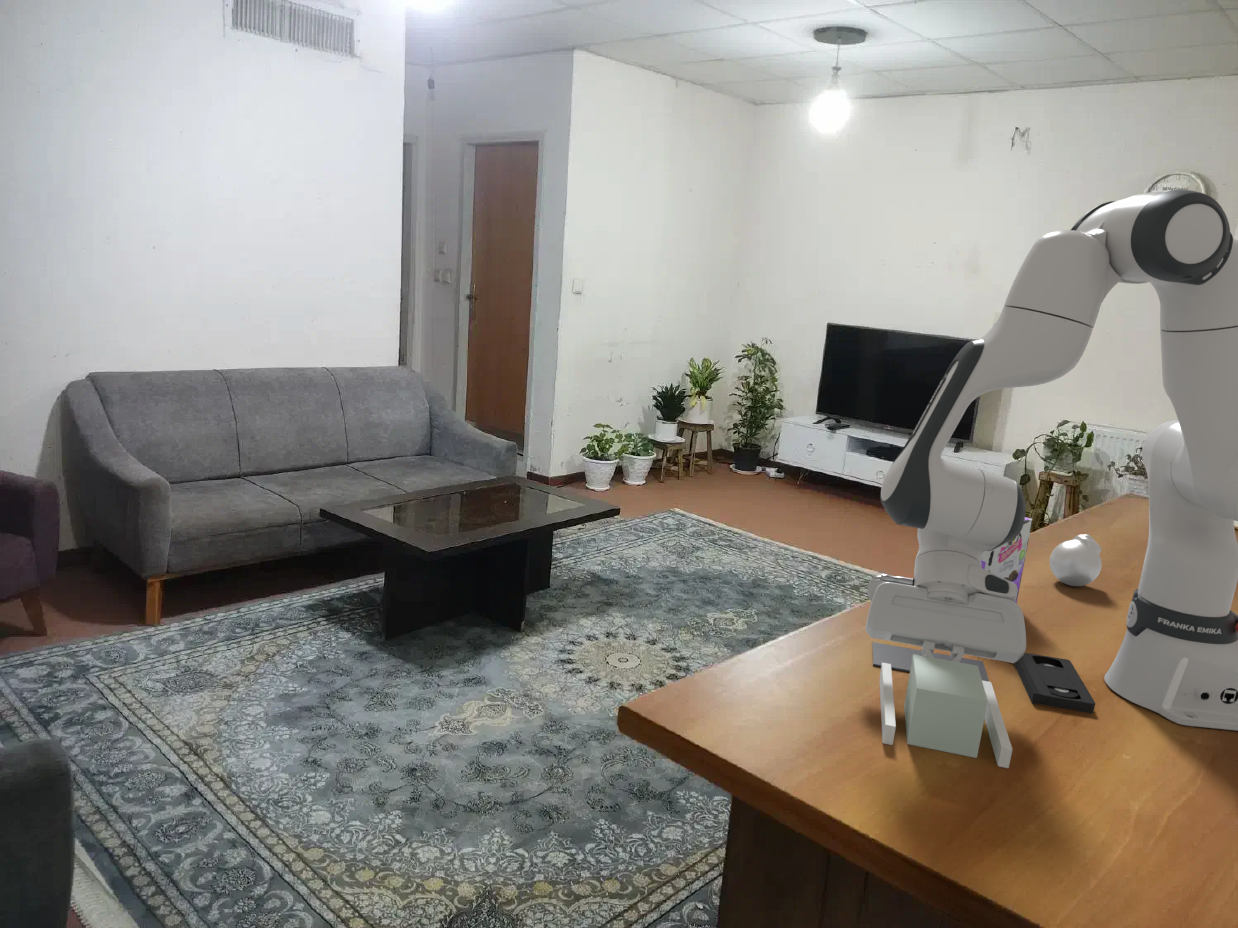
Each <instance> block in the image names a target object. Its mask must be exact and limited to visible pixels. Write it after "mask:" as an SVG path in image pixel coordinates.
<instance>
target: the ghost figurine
mask: <svg viewBox="0 0 1238 928" xmlns="http://www.w3.org/2000/svg"><path fill="white" fill-rule="evenodd" d="M1101 551H1102V547H1101V546H1100V545H1099V544H1098V543H1097V541H1096V540H1095V539H1094V537H1092V536H1091V535H1090V534H1088V533H1087V534H1086V533H1085V534H1083V533H1082V534H1078V535H1076V536H1075V537H1073V538H1072V539H1070V540H1065V541H1063V542H1061V543H1059V544H1058V545H1057V546H1056V547H1054V549H1053V550H1052V551H1051V554H1050V557H1049V567H1050V570H1051V572H1052V574H1053V576H1054V577H1055V578H1056V579H1058V581H1060V582H1061V583H1063V584H1065V585H1068V586H1070V587H1082V586H1083V587H1084V586H1087V585H1089V584H1091V583H1093V582H1094V581H1095V580H1096V579H1097V578H1098V576H1099V575H1100V573H1101V570H1102V566H1103V565H1102V564H1103V563H1102V558H1101V556H1100V553H1101Z"/></svg>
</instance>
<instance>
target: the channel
mask: <svg viewBox="0 0 1238 928" xmlns="http://www.w3.org/2000/svg"><path fill="white" fill-rule="evenodd" d="M871 645H872V666H873V667H879V668H880V672H879V673H880V674H879V697H880V699H879V700H880V718H881V720H880V721H881V723H880V724H881V739H882V741H881V742H882V744H884V745H890V746H893V745H894V739H895V733H896V729H897V724H896V712H895V711H896V710H895V699H894V698H895V697H894V686H893V675H892V674H893V673H892V672H893V671H892V670H895V671H901V672H905V671H906V672H907V673H910V669H911V663H912V657H913V654H916V655H921V656H922V654H921V650H920V649H916V648H910V647H904V646H897V645H894V644H893V645H891V644H887V643H880V642H874V641H872V643H871ZM932 655H933V657H934V658H938V659H944V660H949V661H953V660H954V659H951V658H950V654H949V655H948V654H944V653H939V652H933V653H932ZM960 663H966V664H971V665H977V666H978V668H979V672H980V675H981V679H982V682H983V686H984V690H985V693H986V697H987V700H988V703H987V708H986V713H985V718H984V722H985V725H986V729H987V732H988V733H987V734H988V736H989V740H990V743H991V747H992V751H993V753H994V754H993V755H994V757H995V761H996V765H997V767H999V768H1005V769H1009V768H1010V764H1011V758H1012V753H1013V746H1012V743H1011V741H1010V737H1009V734H1008V731H1007V728H1006V725H1005V722H1004V718H1003V715H1002V712H1001V710H1000V706H999V703H998V702H999V701H998V700H997V696H996V694H995V690H994V687H993V683H992V682H991V681H990V679H989V676H988V672H987V670H986V669H987V668H986V666H985V664H984V661H983V660H978V659H973V658H972V659H971V658H967V657H963V658H962V660H961V661H960ZM906 672H905V673H906Z"/></svg>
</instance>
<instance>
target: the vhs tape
mask: <svg viewBox="0 0 1238 928" xmlns="http://www.w3.org/2000/svg"><path fill="white" fill-rule="evenodd" d="M1013 665H1014V667H1015V670H1016V672H1017V673H1018V674H1017V675H1018V676H1019V679H1020V681H1021V683H1022V685H1023V687H1024V690H1025V692H1026V693H1027V697H1028V699H1029V700H1030V702H1031V704H1033V705H1041V706H1045V707H1050V708H1051V707H1052V708H1055V709H1062V710H1067V711H1074V712H1081V713H1086V714H1094V711H1095V706H1096V702H1095V700H1094V698H1093V697H1092V695H1091V693H1090V691H1089V690H1088V688H1087V686H1086V685H1085V684H1084V683H1085V682H1083V680H1082V678H1081V676H1080V675H1079V673H1078V671H1077V670H1076V668H1075V666H1074V664H1073V663H1072V661H1071V660H1069V659H1066V658H1060V657H1053V656H1049V655H1048V656H1047V655H1041V654H1037V653H1029V652H1025V653H1024V655H1023V656H1022V657H1021V658H1020V659H1019V660H1018V661H1017V662H1015V663H1013ZM1079 697H1080V698H1079Z"/></svg>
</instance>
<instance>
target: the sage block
mask: <svg viewBox="0 0 1238 928" xmlns="http://www.w3.org/2000/svg"><path fill="white" fill-rule="evenodd" d="M908 674H909V675H908V680H907V681H908V682H907V687H906V691H905V692H906V694H905V699H904V705H903V707H904V708H903V709H904V710H903V711H904V718H905V719H904V721H905V732H906V743H907V745H910V746H916V747H921V748H924V749H925V748H926V749H930V750H933V751H940V752H945V753H949V754H955V755H959V756H965V757H969V758H975V759H977V758H978V755H979V749H980V743H981V738H982V733H983V730H984V729H983V728H984V722H985V713H986V708H987V703H988V700H987V697H986V693H985V690H984V686H983V682H982V679H981V675H980V672H979V668H978V666H977V665H971V664H966V663H960V662H955V661H949V660H944V659H938V658H932V657H927V656H921V655H916V654H913V657H912V663H911V669H910V672H909V673H908Z"/></svg>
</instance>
